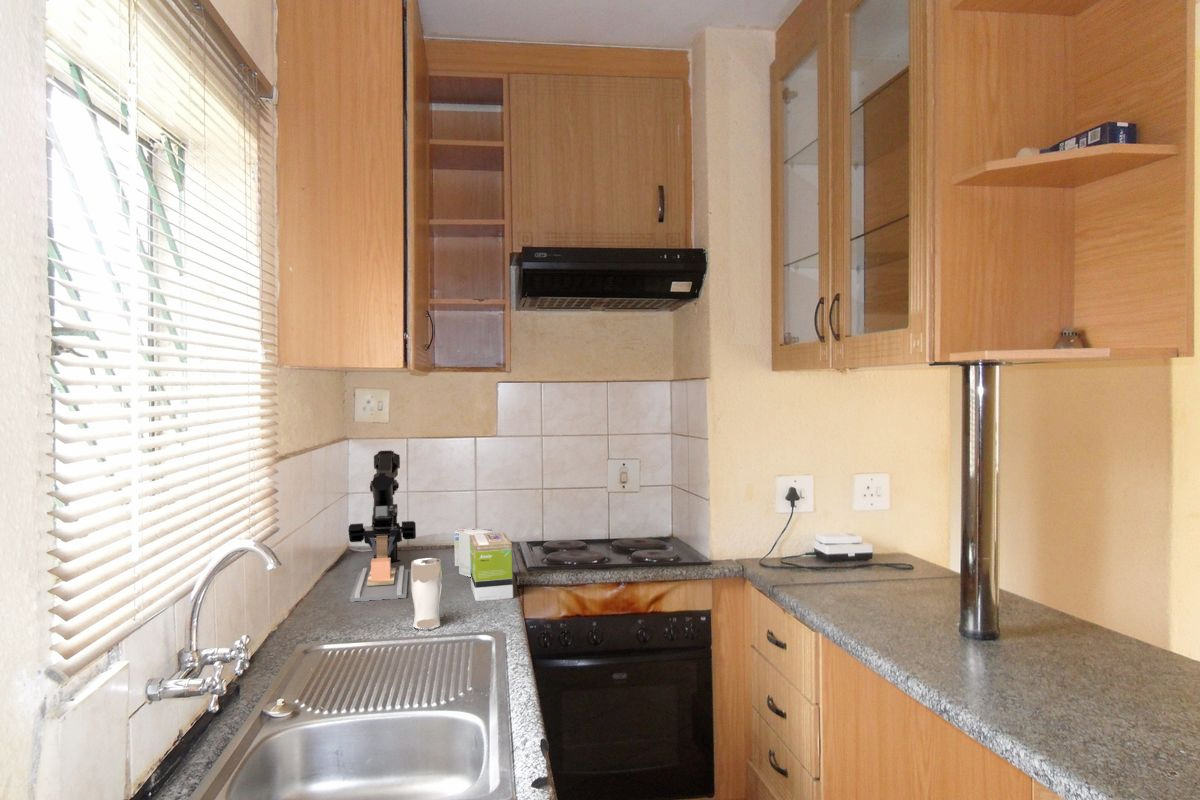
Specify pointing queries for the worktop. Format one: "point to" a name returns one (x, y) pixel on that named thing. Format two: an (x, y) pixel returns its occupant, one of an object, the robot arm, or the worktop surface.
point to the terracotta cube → (380, 569)
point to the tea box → (491, 567)
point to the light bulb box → (456, 544)
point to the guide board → (380, 587)
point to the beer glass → (426, 591)
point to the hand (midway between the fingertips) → (382, 555)
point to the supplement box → (467, 549)
